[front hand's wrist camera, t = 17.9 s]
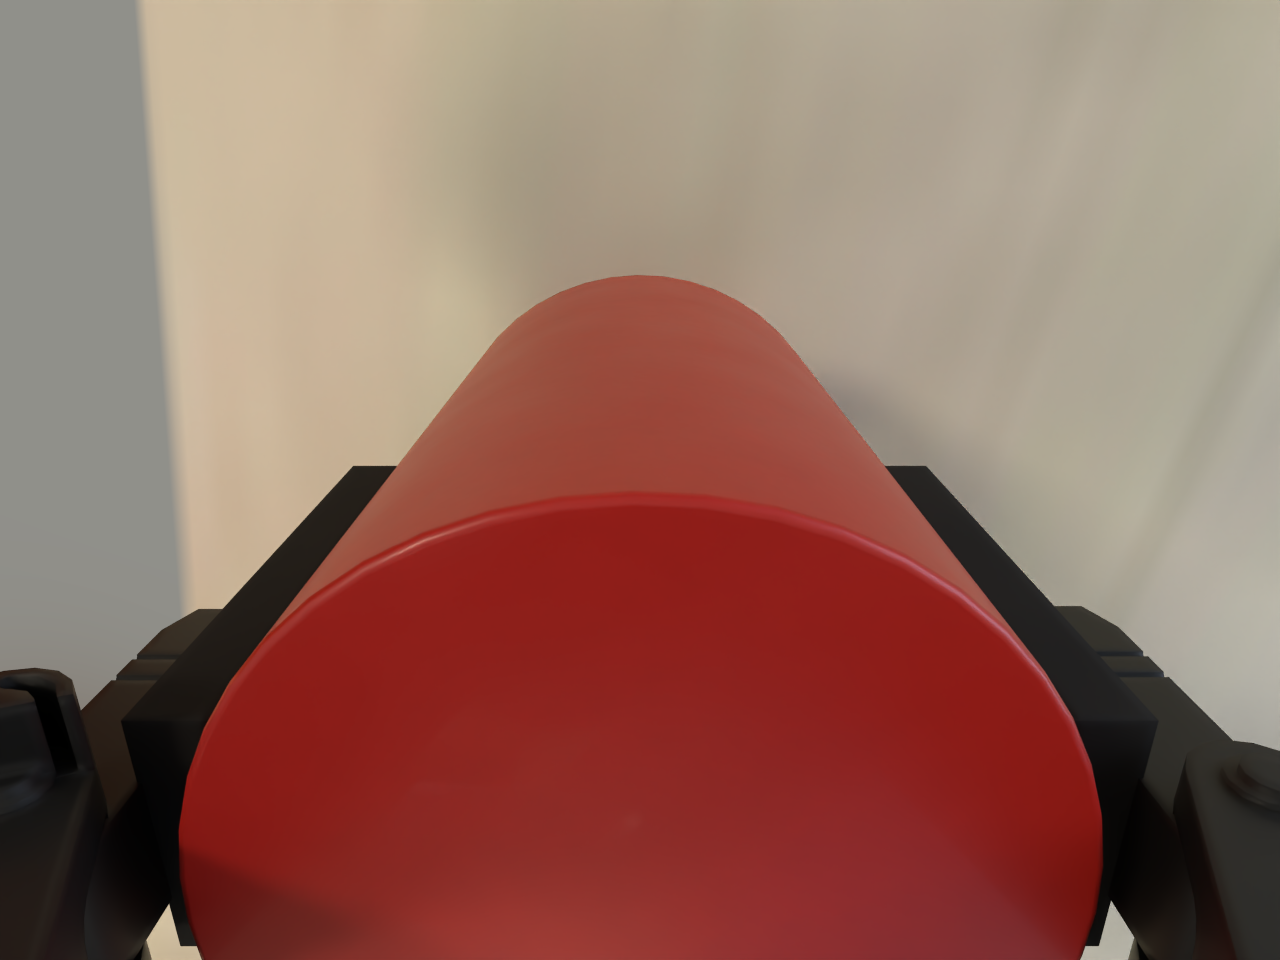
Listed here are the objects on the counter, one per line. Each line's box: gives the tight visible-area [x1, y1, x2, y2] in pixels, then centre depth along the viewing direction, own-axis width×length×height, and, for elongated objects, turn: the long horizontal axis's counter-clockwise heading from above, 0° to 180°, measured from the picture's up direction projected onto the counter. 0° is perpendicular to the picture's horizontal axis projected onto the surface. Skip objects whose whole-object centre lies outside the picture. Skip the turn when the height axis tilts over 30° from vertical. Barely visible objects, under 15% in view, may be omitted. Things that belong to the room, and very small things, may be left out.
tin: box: [179, 275, 1103, 960], centre depth 12 cm, size 8×8×11 cm
